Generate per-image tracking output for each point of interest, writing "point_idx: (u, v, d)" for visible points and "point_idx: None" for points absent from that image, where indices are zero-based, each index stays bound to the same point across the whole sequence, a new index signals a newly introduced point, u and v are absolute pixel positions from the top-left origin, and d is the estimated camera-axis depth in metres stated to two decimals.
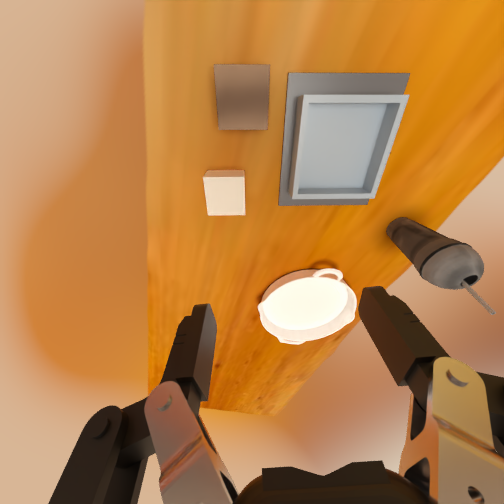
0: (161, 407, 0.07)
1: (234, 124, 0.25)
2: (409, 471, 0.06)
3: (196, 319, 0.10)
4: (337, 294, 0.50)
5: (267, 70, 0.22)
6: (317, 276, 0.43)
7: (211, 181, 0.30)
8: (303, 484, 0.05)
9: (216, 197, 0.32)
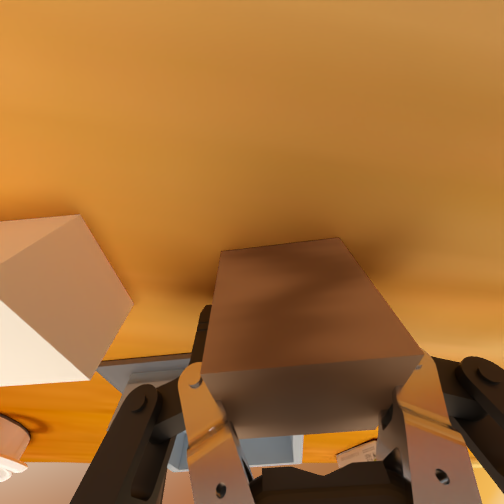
0: (194, 385, 0.07)
1: (231, 401, 0.07)
2: (385, 461, 0.06)
3: None
4: None
5: (364, 427, 0.09)
6: None
7: None
8: (303, 484, 0.05)
9: None
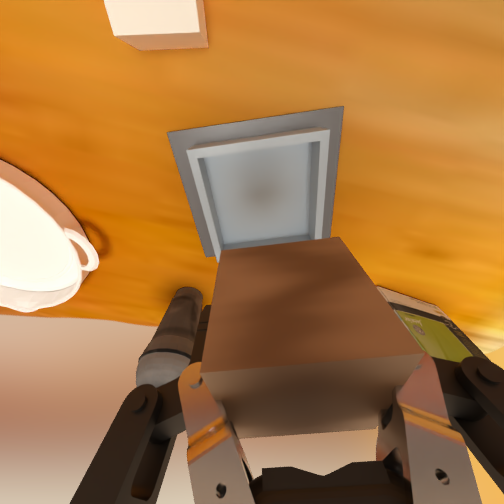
0: (194, 385, 0.07)
1: (231, 400, 0.07)
2: (384, 461, 0.06)
3: None
4: (59, 274, 0.31)
5: (364, 426, 0.09)
6: (67, 236, 0.24)
7: None
8: (303, 484, 0.05)
9: None
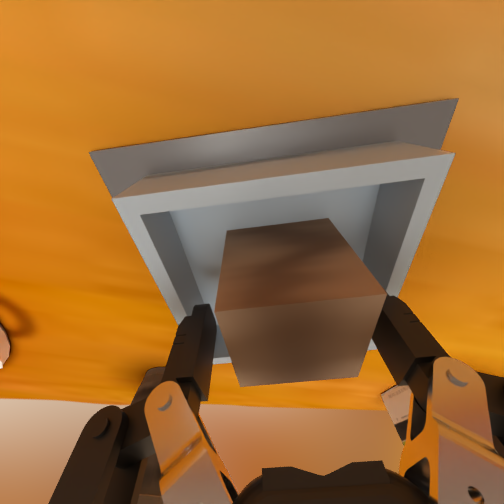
0: (161, 407, 0.07)
1: (238, 341, 0.08)
2: (409, 471, 0.06)
3: (196, 319, 0.10)
4: None
5: (348, 374, 0.10)
6: None
7: None
8: (303, 484, 0.05)
9: None
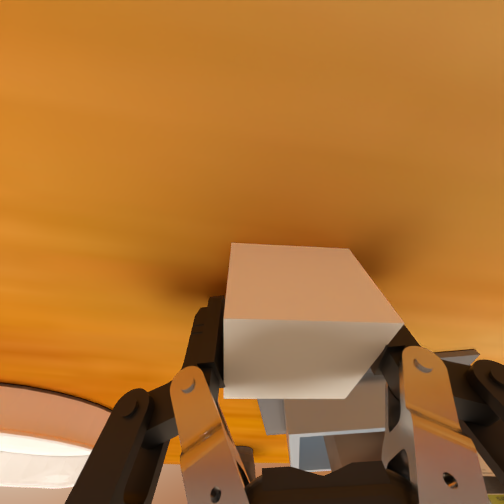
0: (186, 390, 0.07)
1: None
2: (390, 463, 0.06)
3: (212, 310, 0.10)
4: None
5: None
6: None
7: (372, 342, 0.07)
8: (303, 484, 0.05)
9: (301, 349, 0.08)
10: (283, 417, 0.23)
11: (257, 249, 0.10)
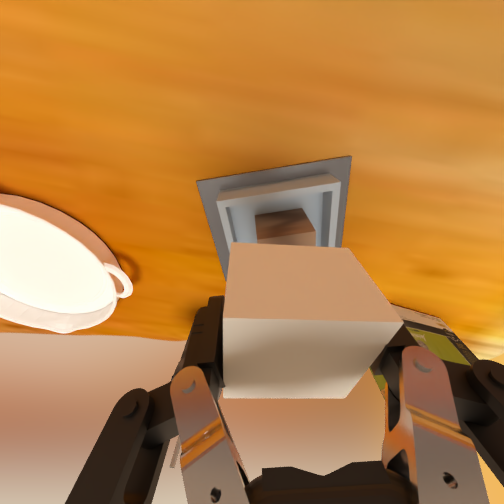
0: (186, 389, 0.07)
1: None
2: (390, 463, 0.06)
3: (212, 310, 0.10)
4: (93, 298, 0.35)
5: None
6: (107, 270, 0.28)
7: (371, 342, 0.07)
8: (303, 484, 0.05)
9: (301, 348, 0.08)
10: None
11: (257, 248, 0.10)
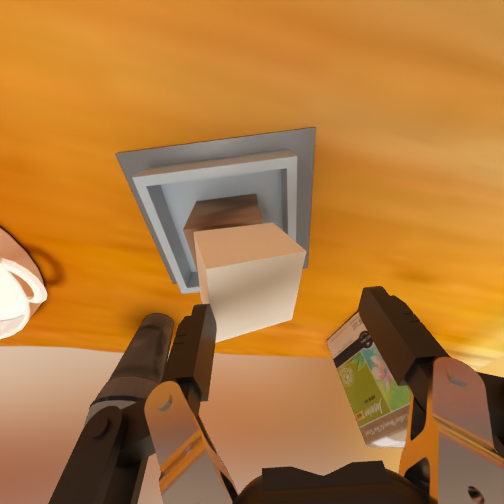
0: (161, 407, 0.07)
1: None
2: (409, 471, 0.06)
3: (196, 319, 0.10)
4: (8, 302, 0.28)
5: None
6: (6, 268, 0.21)
7: (294, 268, 0.13)
8: (303, 484, 0.05)
9: (257, 283, 0.12)
10: None
11: (213, 232, 0.14)
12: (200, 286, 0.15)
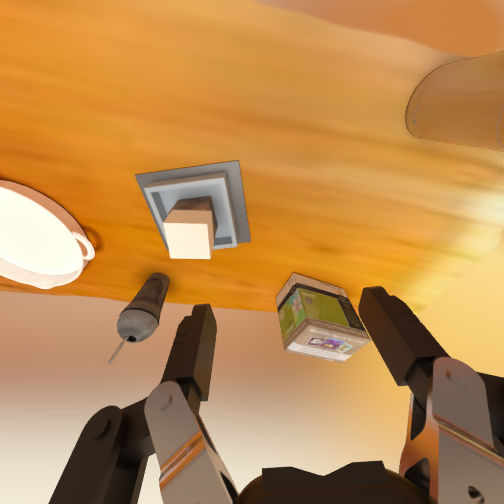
0: (161, 407, 0.07)
1: None
2: (409, 471, 0.06)
3: (196, 319, 0.10)
4: (67, 262, 0.46)
5: None
6: (74, 237, 0.39)
7: (203, 231, 0.29)
8: (303, 484, 0.05)
9: (186, 233, 0.29)
10: None
11: (180, 211, 0.31)
12: None
